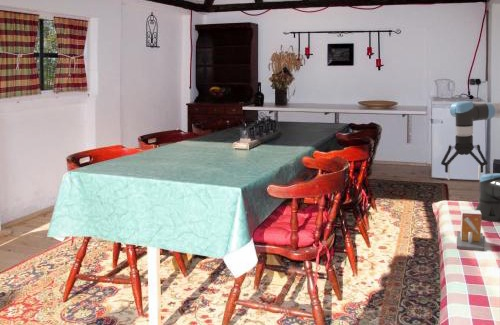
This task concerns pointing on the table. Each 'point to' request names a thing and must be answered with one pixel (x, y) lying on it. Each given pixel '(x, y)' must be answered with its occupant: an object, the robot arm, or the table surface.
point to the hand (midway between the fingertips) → (463, 179)
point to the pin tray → (470, 243)
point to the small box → (470, 224)
